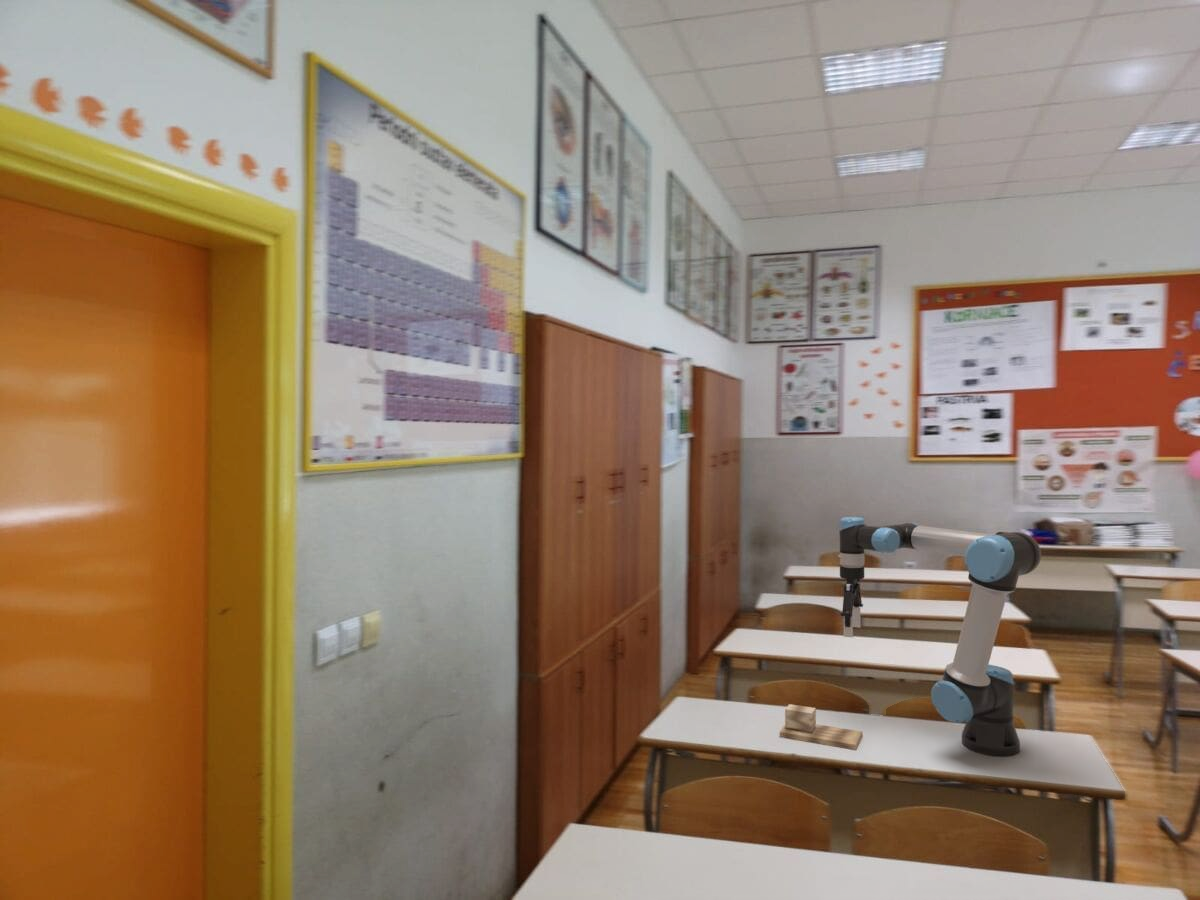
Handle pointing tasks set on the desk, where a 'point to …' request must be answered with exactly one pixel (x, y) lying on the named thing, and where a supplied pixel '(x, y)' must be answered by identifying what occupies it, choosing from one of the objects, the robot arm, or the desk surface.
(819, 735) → the board
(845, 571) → the robot arm
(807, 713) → the block
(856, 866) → the desk surface
